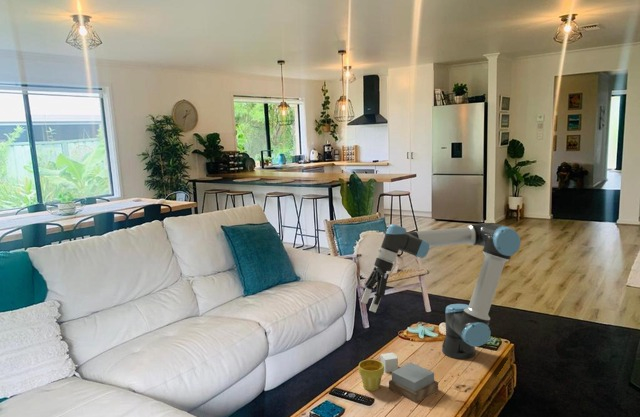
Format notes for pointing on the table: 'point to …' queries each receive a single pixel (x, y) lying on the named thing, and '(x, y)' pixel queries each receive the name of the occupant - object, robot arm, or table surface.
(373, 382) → the plant pot
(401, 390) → the walnut base slab
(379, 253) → the robot arm
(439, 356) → the table surface
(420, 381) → the gray square slab
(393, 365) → the matte white cube
